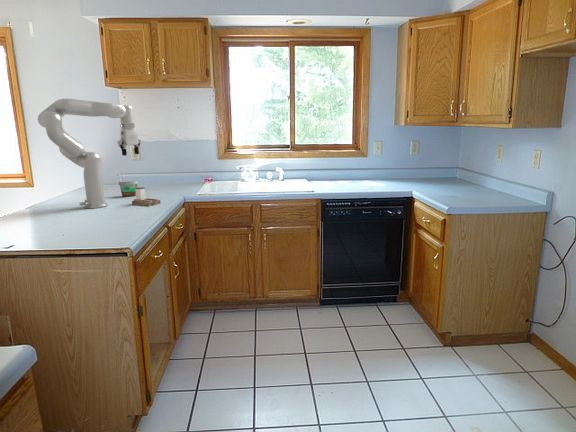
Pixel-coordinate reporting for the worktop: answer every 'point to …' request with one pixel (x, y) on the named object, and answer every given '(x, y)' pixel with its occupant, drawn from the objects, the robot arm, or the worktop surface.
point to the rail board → (146, 202)
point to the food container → (128, 188)
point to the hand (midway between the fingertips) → (130, 154)
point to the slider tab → (140, 193)
